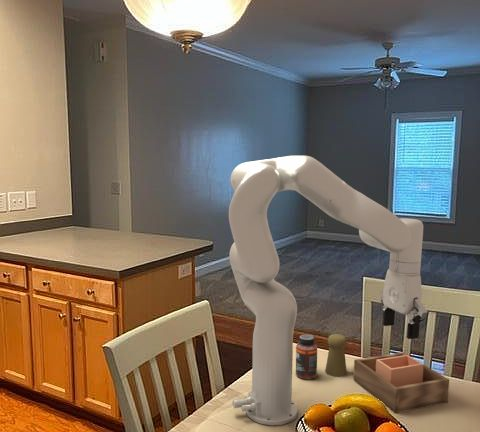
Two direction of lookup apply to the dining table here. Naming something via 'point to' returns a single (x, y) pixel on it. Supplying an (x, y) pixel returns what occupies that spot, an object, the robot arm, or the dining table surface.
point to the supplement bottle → (306, 357)
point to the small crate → (400, 370)
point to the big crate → (403, 396)
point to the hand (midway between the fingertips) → (400, 331)
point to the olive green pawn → (336, 356)
